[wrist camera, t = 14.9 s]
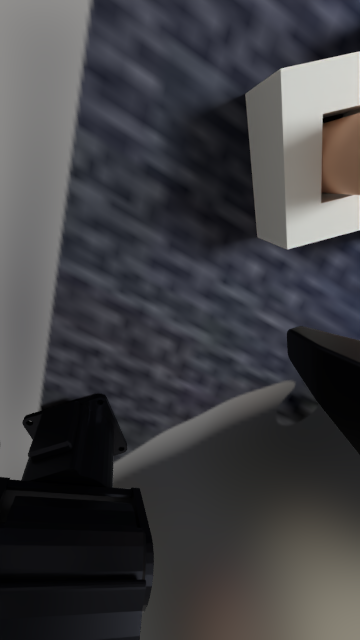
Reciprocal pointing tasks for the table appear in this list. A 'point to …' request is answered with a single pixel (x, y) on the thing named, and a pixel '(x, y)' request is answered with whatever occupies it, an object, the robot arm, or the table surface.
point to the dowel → (341, 156)
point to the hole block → (300, 150)
